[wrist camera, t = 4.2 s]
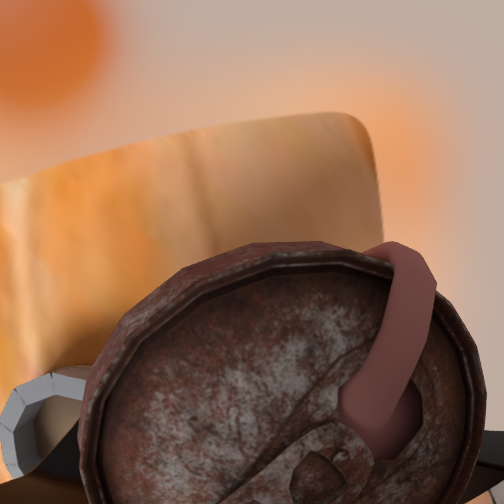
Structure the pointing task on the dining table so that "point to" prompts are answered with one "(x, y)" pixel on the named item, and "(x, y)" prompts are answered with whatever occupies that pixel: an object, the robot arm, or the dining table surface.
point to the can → (286, 385)
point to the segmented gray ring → (40, 416)
